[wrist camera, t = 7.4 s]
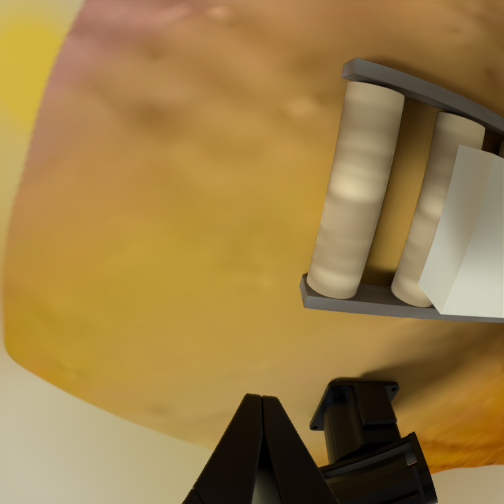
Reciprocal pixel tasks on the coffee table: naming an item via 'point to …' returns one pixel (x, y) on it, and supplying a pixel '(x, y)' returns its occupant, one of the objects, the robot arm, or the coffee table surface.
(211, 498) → the robot arm
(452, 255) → the slab
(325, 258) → the roller bed
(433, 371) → the coffee table surface
